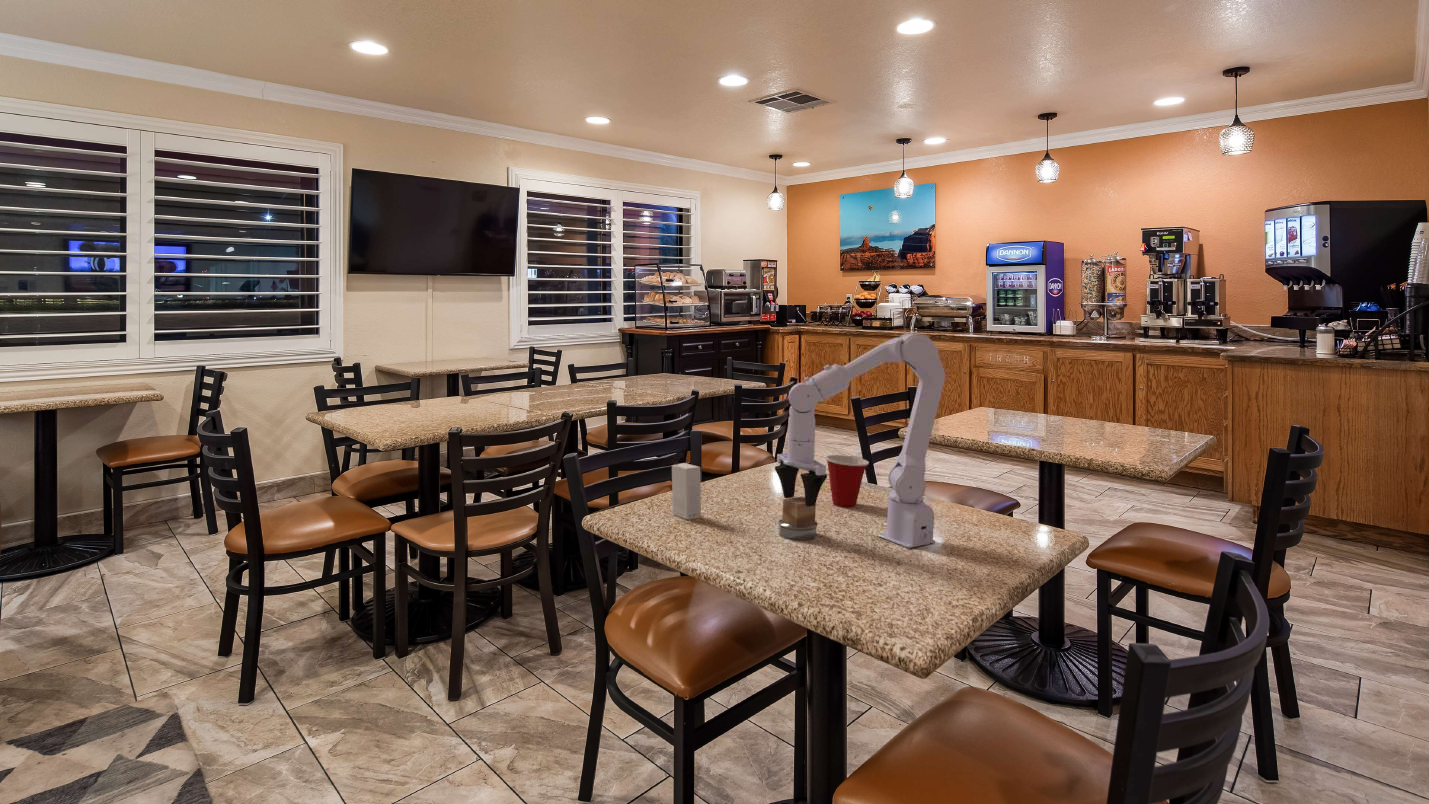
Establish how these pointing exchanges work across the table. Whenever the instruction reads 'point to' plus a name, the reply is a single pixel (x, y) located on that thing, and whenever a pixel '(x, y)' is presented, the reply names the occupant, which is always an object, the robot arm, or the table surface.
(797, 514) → the walnut block
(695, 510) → the skincare box
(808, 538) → the grey metal cylinder
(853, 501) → the plastic cup
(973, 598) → the table surface
